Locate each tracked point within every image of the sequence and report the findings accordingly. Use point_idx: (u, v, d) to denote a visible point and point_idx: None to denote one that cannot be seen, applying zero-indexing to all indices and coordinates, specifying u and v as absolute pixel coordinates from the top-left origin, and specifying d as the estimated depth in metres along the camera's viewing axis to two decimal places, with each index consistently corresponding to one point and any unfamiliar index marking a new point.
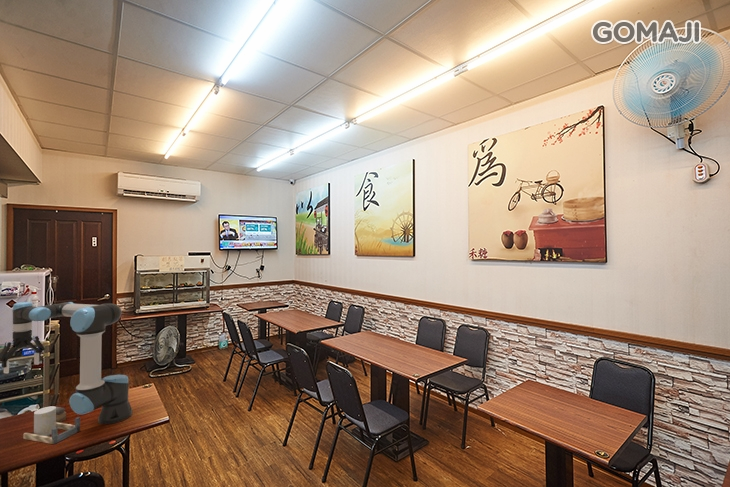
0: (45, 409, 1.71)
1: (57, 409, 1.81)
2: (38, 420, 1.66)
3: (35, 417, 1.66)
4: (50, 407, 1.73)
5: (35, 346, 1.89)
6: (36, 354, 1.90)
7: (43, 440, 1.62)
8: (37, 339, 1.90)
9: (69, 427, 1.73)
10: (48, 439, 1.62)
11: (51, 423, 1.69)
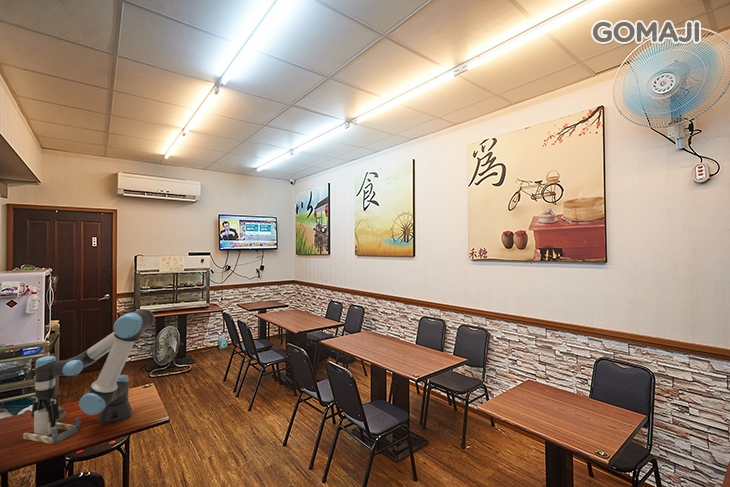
0: None
1: None
2: (38, 420, 1.66)
3: (35, 417, 1.66)
4: None
5: (48, 412, 1.68)
6: None
7: (43, 440, 1.62)
8: (51, 404, 1.68)
9: (69, 427, 1.73)
10: (48, 439, 1.62)
11: None
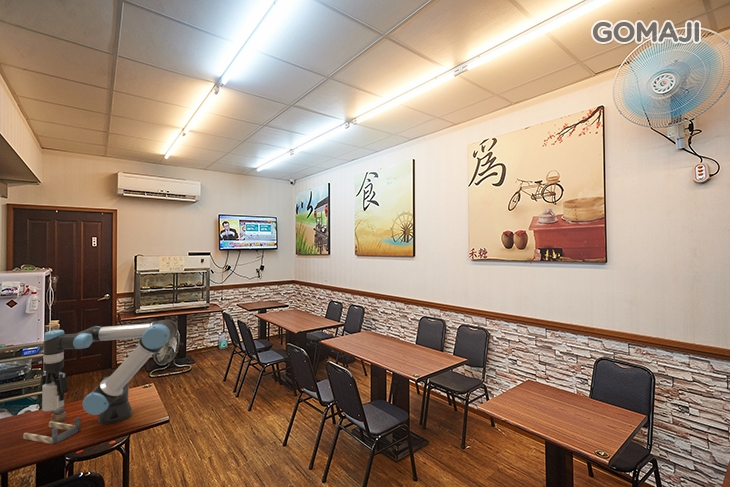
0: (54, 383, 1.70)
1: (57, 409, 1.81)
2: (46, 393, 1.65)
3: (43, 390, 1.65)
4: None
5: (57, 385, 1.67)
6: None
7: (43, 440, 1.62)
8: (59, 378, 1.66)
9: (69, 427, 1.73)
10: (48, 439, 1.62)
11: None
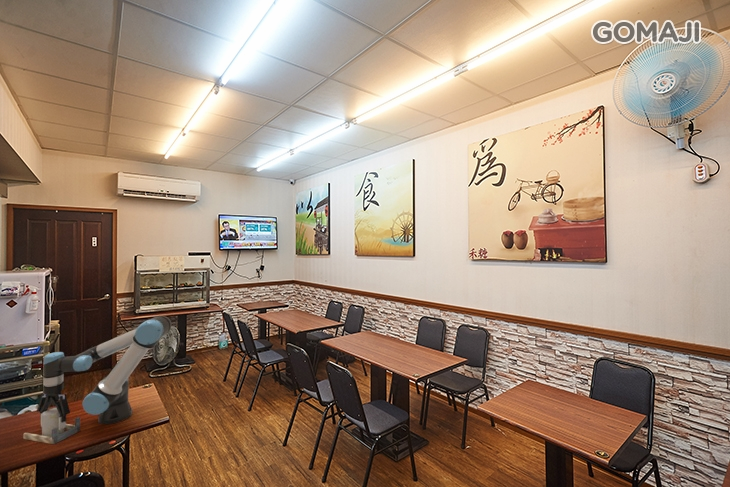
0: (53, 410, 1.70)
1: None
2: (46, 421, 1.65)
3: (43, 418, 1.65)
4: None
5: (58, 407, 1.67)
6: None
7: (43, 440, 1.62)
8: (60, 400, 1.66)
9: (69, 427, 1.73)
10: (48, 439, 1.62)
11: None
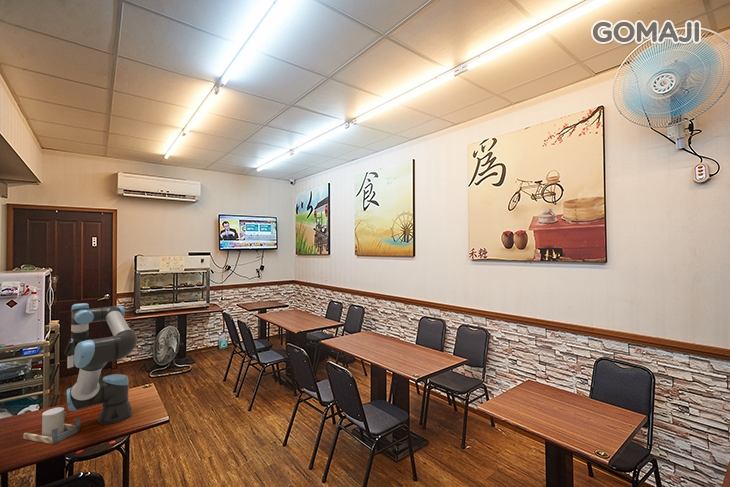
0: (54, 410, 1.70)
1: None
2: (46, 421, 1.65)
3: (43, 418, 1.65)
4: (59, 408, 1.71)
5: None
6: None
7: (43, 440, 1.62)
8: None
9: (69, 427, 1.73)
10: (48, 439, 1.62)
11: (59, 424, 1.68)
